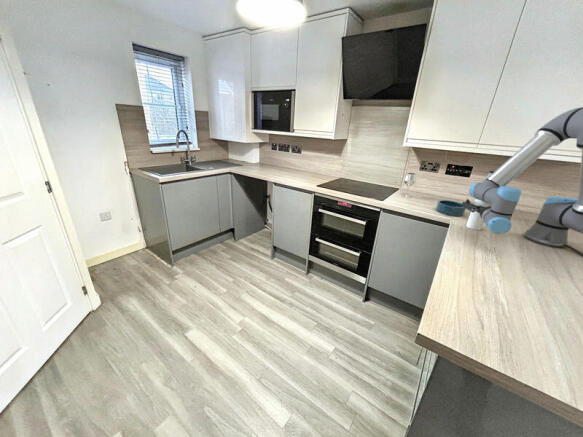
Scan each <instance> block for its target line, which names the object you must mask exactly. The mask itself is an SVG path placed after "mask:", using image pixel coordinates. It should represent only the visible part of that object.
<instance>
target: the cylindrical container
mask: <svg viewBox="0 0 583 437" xmlns="http://www.w3.org/2000/svg"><path fill="white" fill-rule="evenodd" d="M473 204H475V205H477V206H483V207H487V206H492V205H490V204H488V203H486V202H483V201H481V200H478V199H474V202H473ZM466 222H467V223H466V225H465V226H466V227H467V228H468V229H470V230H476V231H482V229H483V227H484V224H485V222H484V221H483V219H482V218H481V216H480V213H478V212H476V211H475V212H471V211H470V214H469V217H468V219H467V221H466Z"/></svg>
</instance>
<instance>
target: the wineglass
mask: <svg viewBox="0 0 583 437" xmlns="http://www.w3.org/2000/svg"><path fill="white" fill-rule="evenodd" d="M416 181H417V175H416V173H413V172H407V173H406V175H405V177H404V180H403V182H404V184H405V186H406V187H407V188H406V193H405V194H401V197H404V198H411V195H409V194H408V193H409V188H410V187H411V186H414V185H415V184H416V183H417V182H416Z"/></svg>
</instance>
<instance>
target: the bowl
mask: <svg viewBox="0 0 583 437" xmlns="http://www.w3.org/2000/svg"><path fill="white" fill-rule="evenodd" d="M461 205H462V202H459V201H454V200H447V199H441V200H438V201H437V204H436V208H435V210H436V211H437V212H439V213H441V214H443V215H446V216H452V217H460V216H461V217H462V216H464V215H465V212H466V210H467V209H466V208H464V207H462V206H461Z"/></svg>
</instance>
